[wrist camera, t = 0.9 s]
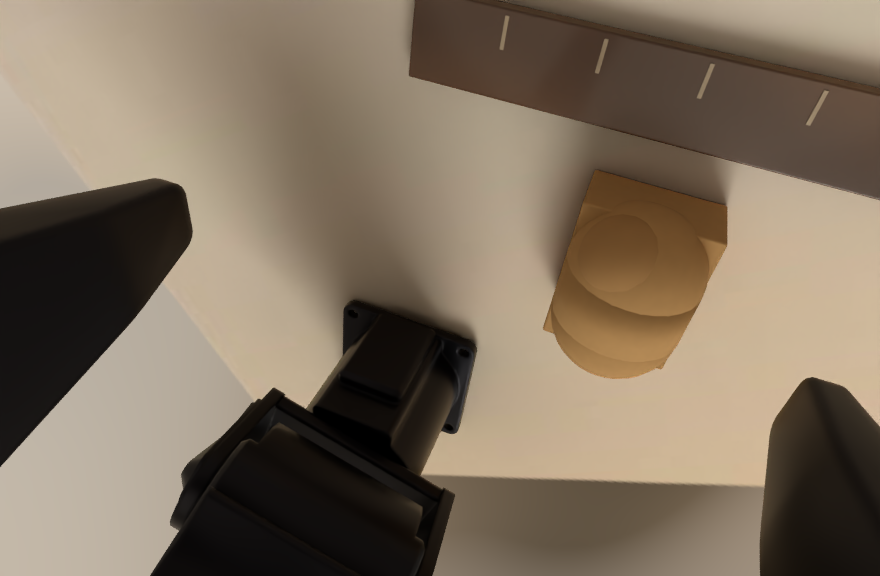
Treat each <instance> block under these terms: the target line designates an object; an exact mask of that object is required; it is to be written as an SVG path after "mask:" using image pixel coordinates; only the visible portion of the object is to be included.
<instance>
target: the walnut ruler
mask: <svg viewBox="0 0 880 576" xmlns="http://www.w3.org/2000/svg"><path fill="white" fill-rule="evenodd" d="M409 76H411V77H415V78H418V79H422V80H426V81H430V82H434V83H437V84H441V85H445V86H449V87H453V88H456V89H460V90H464V91H468V92H472V93H475V94H479V95H483V96H487V97H491V98H494V99H498V100H502V101H506V102H510V103H513V104H517V105H521V106H525V107H529V108H532V109H536V110H540V111H544V112H548V113H551V114H555V115H559V116H563V117H566V118H570V119H574V120H578V121H582V122H585V123H589V124H593V125H597V126H601V127H604V128H608V129H612V130H616V131H620V132H623V133H627V134H631V135H635V136H639V137H642V138H646V139H650V140H654V141H658V142H661V143H665V144H669V145H673V146H677V147H680V148H684V149H688V150H692V151H696V152H699V153H703V154H707V155H711V156H715V157H718V158H722V159H726V160H730V161H734V162H737V163H741V164H745V165H749V166H753V167H756V168H760V169H764V170H768V171H772V172H775V173H779V174H783V175H787V176H791V177H794V178H798V179H802V180H806V181H810V182H813V183H817V184H821V185H825V186H829V187H832V188H836V189H840V190H844V191H848V192H851V193H855V194H859V195H863V196H867V197H870V198H874V199H878V200H880V88H876V87H871V86H867V85H862V84H858V83H854V82H849V81H845V80H841V79H836V78H832V77H828V76H823V75H819V74H815V73H810V72H806V71H801V70H797V69H793V68H788V67H784V66H780V65H775V64H771V63H767V62H762V61H758V60H754V59H749V58H745V57H741V56H736V55H732V54H727V53H723V52H719V51H714V50H710V49H706V48H701V47H697V46H693V45H688V44H684V43H680V42H675V41H671V40H666V39H662V38H658V37H653V36H649V35H645V34H640V33H636V32H632V31H627V30H623V29H619V28H614V27H610V26H605V25H601V24H597V23H592V22H588V21H584V20H579V19H575V18H571V17H566V16H562V15H558V14H553V13H549V12H544V11H540V10H536V9H531V8H527V7H523V6H518V5H514V4H510V3H505V2H501V1H497V0H415V8H414V20H413V32H412V44H411V56H410V68H409Z"/></svg>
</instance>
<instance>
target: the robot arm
mask: <svg viewBox="0 0 880 576" xmlns="http://www.w3.org/2000/svg"><path fill="white" fill-rule="evenodd" d="M192 232H193V230H192V224H191V218H190V213H189V208H188V202H187V197H186V193H185V191H184V189H183V188H182V187H181V186H180V185H178V184H175V183H172V182H169V181H166V180H162V179H157V178H154V179H148V180H143V181H138V182H133V183H128V184H122V185H117V186H112V187H107V188H102V189H97V190H92V191H87V192H82V193H77V194H72V195H67V196H62V197H56V198H51V199H46V200H41V201H37V202H31V203H26V204H21V205H16V206H11V207H6V208H1V209H0V467H1V465H2V464H3V463H4V462H5V461H6V460H7V459H8V458H9V457H10V456H11V454H12V453H13V452H14V451H15V450H16V449H17V448H18V446H20V445H21V443H22V442H23V441H24V440H25V439H26V438H27V437H28V436H29V435H30V433H31V432H32V431H33V430H34V429H35V428H36V427H37V426H38V425H39V424H40V422H41V421H42V420H43V419H44V418H45V417H46V416H47V415H48V414H49V412H50V411H51V410H52V409H53V408H54V407H55V406H56V405H57V404H58V403H59V401H60V400H61V399H62V398H63V397H64V396H65V395H66V394H67V393H68V392H69V391H70V389H71V388H72V387H73V386H74V385H75V384H76V383H77V382H78V381H79V379H80V378H81V377H82V376H83V375H84V374H85V373H86V372H87V370H89V368H90V367H91V366H92V365H93V364H94V363H95V362H96V361H97V360H98V359H99V357H100V356H101V355H102V354H103V353H104V352H105V351H106V350H107V349H108V348H109V346H110V345H111V344H112V343H113V342H114V341H115V340H116V339H117V337H119V335H120V334H121V333H122V332H123V331H124V330H125V329H126V328H127V326H128V325H129V324H130V323H131V322H132V321H133V319H134V318H135V317H136V316H137V314H138V313H139V312H140V311H141V309H142V308H143V307H144V306H145V304H146V303H147V302H148V300H149V299H150V297H151V296H152V295H153V293H154V292H155V290H156V289H157V288H158V286H159V285H160V284H161V282H162V281H163V280H164V278H165V277H166V276H167V274H168V273H169V272H170V270H171V269H172V268H173V266H174V265H175V263H176V262H177V261H178V259H179V258H180V257H181V255H182V254H183V253H184V251H185V250H186V248H187V247H188V245H189V244H190V241H191V238H192ZM355 311H356V312H357V313H356V312H355ZM463 349H465V350H467V351H468V352H467V351H464V350H463ZM476 353H477V347H476V345H475V344H474V343H473V342H472V341H470V340H468V339H465V338H462V337H459V336H456V335H453V334H450V333H448V332H445V331H442V330H439V329H436V328H433V327H430V326H428V325H425V324H422V323H419V322H416V321H413V320H410V319H407V318H405V317H402V316H399V315H396V314H393V313H390V312H387V311H385V310H382V309H379V308H376V307H373V306H370V305H367V304H364V303H362V302H359V301H355V300H353V301H350V302H349V303H348V304H347V305H346V306H345V308H344V318H343V357H342V358H341V360H340V361H339V363H338V364H337V366H336V367H335V368H334V370H333V371H332V373H331V374H330V375H329V377H328V378H327V380H326V381H325V383H324V384H323V385H322V387H321V388H320V390H319V391H318V392H317V394H316V395H315V397H314V398H313V400H312V401H311V402H310V404H309V405H308V407H307V408H306V409H305V408H304V407H302V406H300V405H298V404H297V403H295V402H293V401H292V400H290V399H288V398H287V397H285V394H284V393H282V392H281V391H279V390H277V389H276V388H272V390H271V391H270V392H269V393H268V394H267V395H266V396H265V397H264V398H263V399H262V400H261V399H258V400H257V401H256V402H255V403H251V404H250V406H249V407H248V408H247V409H246V411H245V412H244V413H243V414H242V416H241V417H240V418H239V419H238V420H237V421H236V423H234V424H233V425H232V426H231V428H230V429H229V430H228V431H227V432H226V433H225V434H224V435H223V436H222V437H221V438H219V439H218V440H217V441H215V442H214V443H213V444H212V445H210V446H209V447H208V448H206V449H205V450H204V451H202V452H201V453H200V454H199V455H197V456H196V457H195V458H193V459H192V460H191V461H190V462H189V463H188V464H187V465H186V467H185V468H184V470H183V471H182V474H181V477H182V484H183V491H182V493H181V495H180V498H179V501H178V504H177V506H176V508H175V510H174V512H173V514H172V517H171V520H170V525H171V526H172V527H174V528H176V529H178V530H179V532H178V533H177V535H176V537H175V538H174V540H173V541H172V543H171V544H170V546H169V547H168V549H167V550H166V552H165V553H164V555H163V557H162V558H161V560H160V561H159V563H158V564H157V566H156V567H155V569H154V570H153V572H152V573H151V575H150V576H432V575H433V572H434V569H435V565H436V561H437V558H438V554H439V550H440V547H441V543H442V540H443V536H444V533H445V529H446V526H447V522H448V519H449V515H450V511H451V508H452V504H453V500H454V497H455V494H454V493H452V492H451V491H449V490H447V489H445V488H443V489H441V488H439V487H438V486H436V485H434V484H432V483H431V482H429V481H427V480H426V479H424V478H422V477H421V476H420V475H421V473H422V471H423V468H424V466H425V464H426V462H427V460H428V458H429V455H430V453H431V451H432V449H433V447H434V445H435V442H436V440H437V438H438V436H439V434H440V432H441V431H443V432H446V433H449V434H455V433H457V431H458V429H459V427H460V424H461V419H462V415H463V410H464V406H465V402H466V397H467V393H468V388H469V384H470V379H471V375H472V371H473V366H474V362H475V357H476ZM760 576H880V427H879V425H878V424H877V423H876V422H875V421H874V420H873V418H872V417H871V416H870V415H869V414H868V413H867V411H866V410H865V409H864V408H863V407H862V406H861V405H860V403H859V402H858V401H857V400H856V399H855V398H854V396H853V395H852V394H851V393H850V392H849V391H848V390H847V389H846V388H844V387H843V386H840V385H837V384H834V383H831V382H827V381H824V380H821V379H818V378H814V377H811V378H806V379H805V380H803V381H802V382H801V383H800V384H799V386H798V387H797V389H796V390H795V391H794V393H793V394H792V396H791V397H790V398H789V400H788V401H787V403H786V404H785V405H784V407H783V408H782V410H781V411H780V412H779V414H778V415H777V417H776V418H775V420H774V422H773V425H772V428H771V432H770V438H769V448H768V458H767V469H766V479H765V489H764V500H763V510H762V520H761V532H760Z"/></svg>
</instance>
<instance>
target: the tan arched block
mask: <svg viewBox="0 0 880 576" xmlns="http://www.w3.org/2000/svg"><path fill="white" fill-rule="evenodd" d="M726 247H727V206H724V205H720V204H717V203H713V202H710V201H706V200H703V199H699V198H695V197H692V196H688V195H685V194H681V193H677V192H674V191H670V190H667V189H663V188H659V187H656V186H652V185H649V184H645V183H641V182H638V181H634V180H631V179H627V178H624V177H620V176H616V175H613V174H609V173H606V172H602V171H598V170H595V172H594V174H593V177H592V179H591V182H590V185H589V188H588V190H587V193H586V196H585V198H584V201H583V204H582V207H581V210H580V213H579V216H578V220H577V223H576V226H575V229H574V232H573V235H572V238H571V242H570V245H569V248H568V251H567V254H566V257H565V260H564V264H563V267H562V270H561V273H560V276H559V279H558V282H557V286H556V289H555V292H554V295H553V298H552V302H551V305H550V308H549V311H548V314H547V317H546V320H545V324H544V327H543V330H545V331H548V332H551V333H554V334H555V337H556V339H557V342H558V344H559V345H560V347H561V349H562V350H563V351H564V353H565V354H566V355H567V356H568V357H569V358H570V359H571V360H572V361H573V362H574V363H575V364H576V365H578V366H579V367H580V368H582V369H584V370H585V371H587V372H590V373H592V374H594V375H597V376H601V377H604V378H612V379H620V378H632V377H637V376H639V375H642V374H644V373H647V372H649V371H651V370H653V369H655V368H658V369H662V368H663V366H664V364H665V362H666V360H667V358H668V357H669V356H670V354H671V353H672V352H673V350H674V349H675V347H676V346H677V345H678V343H679V341H680V339H681V337H682V335H683V333H684V331H685V330H686V328H687V326H688V324H689V322H690V320H691V318H692V316H693V315H694V313H695V311H696V309H697V307H698V305H699V303H700V301H701V299H702V297H703V295H704V292H705V290H706V287H707V283H708V281H709V279H710V277H711V275H712V273H713V271H714V269H715V268H716V266H717V264H718V262H719V260H720V258H721V256H722V254H723V252H724V251H725V249H726Z"/></svg>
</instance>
